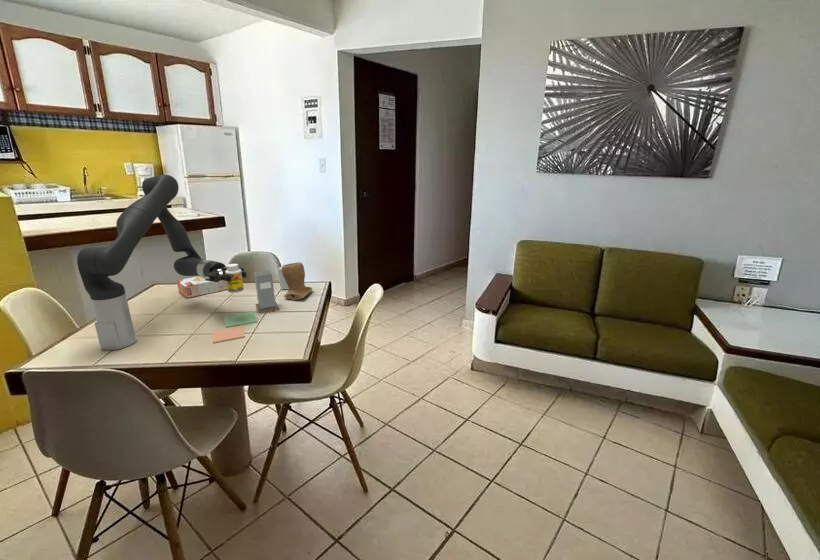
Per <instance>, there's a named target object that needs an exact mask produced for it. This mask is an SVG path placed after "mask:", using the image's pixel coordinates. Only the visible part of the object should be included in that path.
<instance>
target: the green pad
mask: <svg viewBox="0 0 820 560" xmlns="http://www.w3.org/2000/svg"><path fill="white" fill-rule="evenodd" d="M223 319H224V325H225V329H228V328H233V327H239V326H243V325H251V324H255V323H258V320H257V319H258V318H257V317H256V313H255V311H249V312H244V313H237V314H233V315H226V316H224V317H223Z"/></svg>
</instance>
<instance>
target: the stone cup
mask: <svg viewBox="0 0 820 560" xmlns="http://www.w3.org/2000/svg"><path fill="white" fill-rule="evenodd" d="M281 266H282V274H283V277H284V278H285V280H286V283H287V285H288V287H289V290H287V292H286V293H285V294H284V295H283V296H284V297H285V298H286V299H289V300H290V301H298V300H299V301H300V300H302V299H303V298H305V297H306V296H307V295H308V294H310V292H312V291H313V287H311V286H306V285H305V278H306V271H305V267H304V264H303V263H302V262H300V261H299V262H292V263H287V264H283V265H281ZM285 298H284V299H285Z"/></svg>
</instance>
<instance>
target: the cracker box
mask: <svg viewBox="0 0 820 560" xmlns="http://www.w3.org/2000/svg"><path fill="white" fill-rule="evenodd" d="M176 284H177V288H178V292H179V294H182V295H183V296H184V297H185V298H186V299H188V298H193V297H198V296H202V295H207V294H211V293H216V292H221V291H226V290H227V291H228V289H227V282H226V281H219V282H212V281H206V279H205V278H203V277H200V276H191V277H188V278H181V279H177V280H176Z"/></svg>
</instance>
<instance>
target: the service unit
mask: <svg viewBox="0 0 820 560" xmlns="http://www.w3.org/2000/svg"><path fill="white" fill-rule="evenodd" d="M253 277H254V284H255V290H256V296H257V303H255V308H256V310H257V311H256V312H257V313H258V314H259V313H260V314H265V313H271V312H276V311H275V310H277V311H280V307H279V305H278V303H277V301H276V296H275V288H274V281H273V273H272V272H271V270H270V269H267V270H260V271H259V270H258V271H253ZM270 311H271V312H270ZM264 312H265V313H264Z"/></svg>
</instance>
